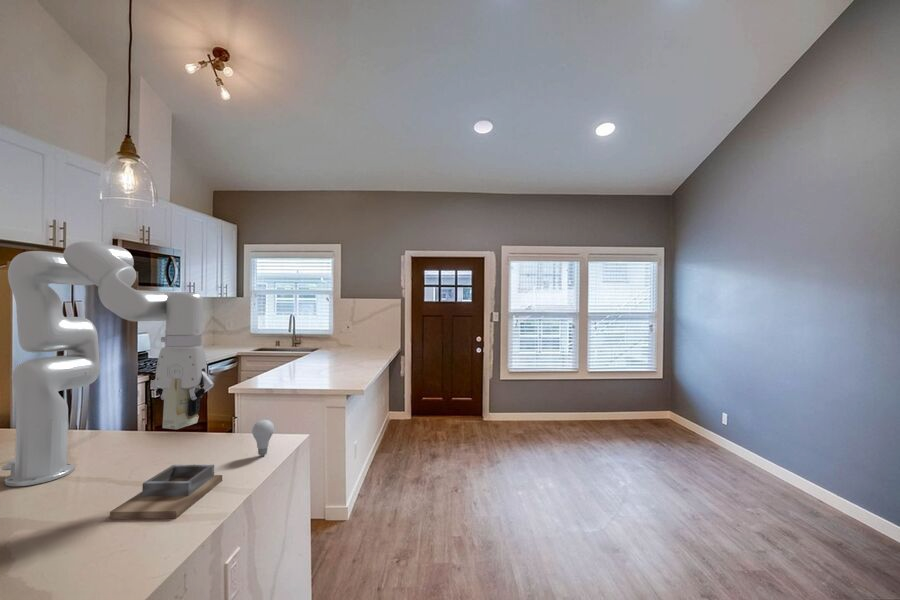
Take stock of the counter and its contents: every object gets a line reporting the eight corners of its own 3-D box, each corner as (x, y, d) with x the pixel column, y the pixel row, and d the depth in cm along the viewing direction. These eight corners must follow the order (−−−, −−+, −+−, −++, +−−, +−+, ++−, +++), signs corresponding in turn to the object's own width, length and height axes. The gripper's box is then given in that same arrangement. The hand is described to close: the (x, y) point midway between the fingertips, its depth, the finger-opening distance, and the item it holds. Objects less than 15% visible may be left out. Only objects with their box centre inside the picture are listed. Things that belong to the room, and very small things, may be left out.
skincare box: (176, 430, 91) (178, 379, 92) (161, 428, 92) (163, 378, 93) (199, 422, 98) (200, 374, 98) (184, 421, 99) (186, 373, 99)
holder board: (109, 518, 82) (110, 497, 83) (167, 480, 100) (168, 463, 101) (176, 518, 83) (176, 497, 83) (222, 480, 101) (222, 463, 101)
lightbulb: (258, 461, 114) (259, 424, 114) (247, 456, 117) (248, 420, 117) (277, 454, 119) (278, 419, 119) (266, 450, 122) (266, 416, 123)
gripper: (136, 342, 91) (134, 419, 91) (209, 343, 92) (207, 419, 92) (159, 340, 99) (157, 410, 99) (226, 340, 100) (224, 410, 99)
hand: (181, 413), depth 95 cm, fingers closed on skincare box, 5 cm apart
